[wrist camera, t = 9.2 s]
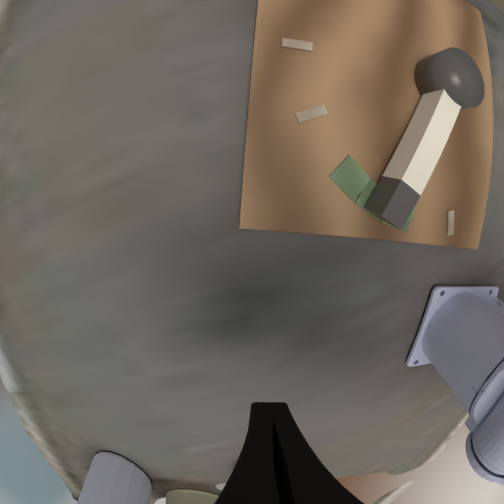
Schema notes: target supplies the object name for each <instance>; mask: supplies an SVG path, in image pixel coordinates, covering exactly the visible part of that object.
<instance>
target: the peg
mask: <svg viewBox="0 0 504 504" xmlns="http://www.w3.org/2000/svg"><path fill="white" fill-rule="evenodd" d="M415 78H416V83H417V86H418V89H419V91H420V93H421V94H422V98H421V100H420V102H419V104H418V106H417V109H416V111H415V113H414V115H413V117H412V119H411V121H410V123H409V125H408V127H407V129H406V131H405V133H404V135H403V137H402V139H401V141H400V143H399V145H398V147H397V149H396V151H395V153H394V155H393V157H392V159H391V160H390V162H389V164H388V166H387V168H386V170H385V172H384V173H383V175H382V177H381V179H380V181H379V183H378V184H377V186H376V188H375V190H374V192H373V193H372V195H371V197H370V199H369V200H368V202H367V204H366V206H365V207H364V208H365V209H367V210H368V211H370V212H371V213H373V214H374V215H376V216H377V217H378V218H380V219H381V220H383V221H385V222H387V223H388V224H390V225H392V226H394V227H396V228H398V229H400V230H402V229H403V227H404V225H405V223H406V222H407V220H408V218H409V216H410V214H411V213H412V211H413V209H414V207H415V205H416V204H417V202H418V200H419V198H420V196H421V194H422V192H423V190H424V188H425V186H426V184H427V182H428V180H429V178H430V176H431V174H432V172H433V170H434V168H435V166H436V164H437V162H438V160H439V158H440V156H441V153H442V151H443V149H444V147H445V145H446V142H447V140H448V138H449V135H450V133H451V131H452V128H453V126H454V124H455V121H456V119H457V116H458V114H459V111H460V109H466V108H475V107H478V106H479V105H480V104H481V103H482V101H483V99H484V94H485V86H484V81H483V77H482V74H481V72H480V70H479V68H478V66H477V65H476V63H475V62H474V60H473V59H472V58H471V57H470V56H469V55H468V54H467V53H466V52H464V51H463V50H461V49H459V48H455V47H450V48H447V49H445V50H442V51H440V52H437V53H435V54H433V55H430V56H428V57H426V58H423V59H422V60H420V61H419V62H418V64H417V66H416V70H415Z"/></svg>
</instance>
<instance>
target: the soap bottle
mask: <svg viewBox="0 0 504 504" xmlns="http://www.w3.org/2000/svg"><path fill="white" fill-rule="evenodd" d="M151 492H152V486H151V482H150V479H149V478H148V477H147V475H146V474H145V473H144V472H143V471H142V470H141V469H140V468H138V467H137V466H136V465H135V464H134V463H132V462H130V461H128V460H127V459H125V458H123V457H122V456H119V455H116V454H114V453H111V452H102V451H101V452H100V453H98V454H96V455H95V456H94V458H93V461H92V463H91V466H90V469H89V471H88V474H87V477H86V480H85V482H84V485H83V488H82V491H81V494H80V497H79V500H78V503H77V504H149V502H150V497H151Z"/></svg>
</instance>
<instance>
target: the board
mask: <svg viewBox="0 0 504 504" xmlns="http://www.w3.org/2000/svg"><path fill="white" fill-rule="evenodd" d="M450 47H455V48H459V49H461V50H463V51H464V52H466V53H467V54H468V55H469V56H470V57H471V58H472V59H473V60H474V62H475V63H476V65H477V66H478V68H479V70H480V72H481V74H482V77H483V81H484V86H485V94H484V99H483V101H482V103H481V104H480V105H479V106H478V107H475V108H466V109H460V111H459V114H458V116H457V119H456V121H455V124H454V126H453V128H452V131H451V133H450V135H449V138H448V140H447V142H446V145H445V147H444V149H443V151H442V153H441V156H440V158H439V160H438V162H437V164H436V166H435V168H434V170H433V172H432V174H431V176H430V178H429V180H428V182H427V184H426V186H425V188H424V190H423V192H422V194H421V196H420V198H419V200H418V202H417V204H416V205H415V207H414V209H413V211H412V213H411V214H410V216H409V218H408V220H407V222H406V223H405V225H404V227H403V229H402V230H400V229H398V228H396V227H394V226H392V225H390V224H388V223H387V222H385V221H383V220H381V219H380V218H378V217H377V216H376V215H374V214H373V213H371V212H370V211H368V210H367V209H365V208H364V207H365V206H366V204H367V202H368V200H369V199H370V197H371V195H372V193H373V192H374V190H375V188H376V186H377V184H378V183H379V181H380V179H381V177H382V175H383V173H384V172H385V170H386V168H387V166H388V164H389V162H390V160H391V159H392V157H393V155H394V153H395V151H396V149H397V147H398V145H399V143H400V141H401V139H402V137H403V135H404V133H405V131H406V129H407V127H408V125H409V123H410V121H411V119H412V117H413V115H414V113H415V111H416V109H417V106H418V104H419V102H420V100H421V98H422V94H421V93H420V91H419V89H418V86H417V83H416V78H415V70H416V66H417V64H418V62H419V61H420V60H422V59H423V58H426V57H428V56H430V55H433V54H435V53H437V52H440V51H442V50H445V49H447V48H450ZM492 149H493V96H492V81H491V71H490V62H489V55H488V48H487V42H486V36H485V31H484V26H483V22H482V17H481V13H480V11H479V10H478V9H476V8H475V7H473V6H472V5H470V4H468V3H467V2H465V1H464V0H258V8H257V18H256V29H255V39H254V50H253V61H252V72H251V83H250V95H249V107H248V119H247V131H246V144H245V157H244V170H243V183H242V197H241V211H240V226H239V229H255V230H269V231H283V232H296V233H309V234H322V235H334V236H346V237H357V238H368V239H379V240H390V241H400V242H410V243H420V244H429V245H439V246H448V247H457V248H466V249H474V250H478V246H479V242H480V237H481V232H482V228H483V222H484V217H485V211H486V205H487V199H488V192H489V184H490V175H491V164H492Z"/></svg>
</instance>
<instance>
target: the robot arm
mask: <svg viewBox="0 0 504 504" xmlns="http://www.w3.org/2000/svg"><path fill="white" fill-rule="evenodd" d="M441 291H442V293H441ZM498 291H499V288H498V287H497V286H436V287H434V289H433V290H432V293H431V296H430V299H429V302H428V305H427V308H426V311H425V314H424V317H423V320H422V323H421V326H420V328H419V331H418V334H417V336H416V339H415V341H414V344H413V346H412V349H411V351H410V354H409V356H408V359H407V361H406V364H407V366H408V367H412V366H419V365H425V364H432V365H433V366H434V367H435V369H436V370H437V371H438V372H439V374H440V375H441V376H442V378H443V379H444V380H445V382H446V383H447V384H448V386H449V387H450V388H451V390H452V391H453V393H454V394H455V395H456V397H457V398H458V399H459V401H460V402H461V404H462V405H463V406H464V408H465V409H466V411H467V412H468V413H469V417H468V419H467V421H466V422H465V425H466V426H467V427H468V429H469V431H470V433H469V434H468V436H467V439H466V454H467V457H468V460H469V463H470V465H471V466H472V468H473V469H474V471H475V472H476V473H477V474H478V475H479V476H481V477H482V478H484V479H487V480H489V481H492V482H496V483H499V484H502V485H504V303H503V302H502V301H501V300H499V299H498V298H497V295H498ZM440 293H441V294H440ZM214 504H364V503H363V502H361V501H360V500H359V499H357V498H356V497H355V496H354V495H353V494H351V493H350V492H349V491H348V490H347V489H346V488H344V487H343V486H342V485H341V484H340V483H339V482H338V481H337V480H336V479H335V478H334V476H333V475H332V474H331V473H330V472H329V471H328V470H327V469H326V467H325V466H324V465H323V464H322V463H321V461H320V460H319V459H318V457H317V456H316V455H315V453H314V452H313V450H312V449H311V447H310V446H309V444H308V443H307V441H306V440H305V438H304V437H303V435H302V433H301V432H300V430H299V428H298V426H297V424H296V422H295V421H294V419H293V417H292V414H291V412H290V410H289V408H288V405H287V404H286V403H285V402H254V403H252V404H251V411H250V419H249V427H248V432H247V436H246V439H245V443H244V446H243V448H242V451H241V453H240V456H239V458H238V461H237V463H236V465H235V468H234V470H233V472H232V474H231V476H230V478H229V480H228V482H227V483H226V485H225V487H224V489H223V490H222V492H221V494H220V495H219V497H218V498H217V500H216V502H215V503H214Z"/></svg>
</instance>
